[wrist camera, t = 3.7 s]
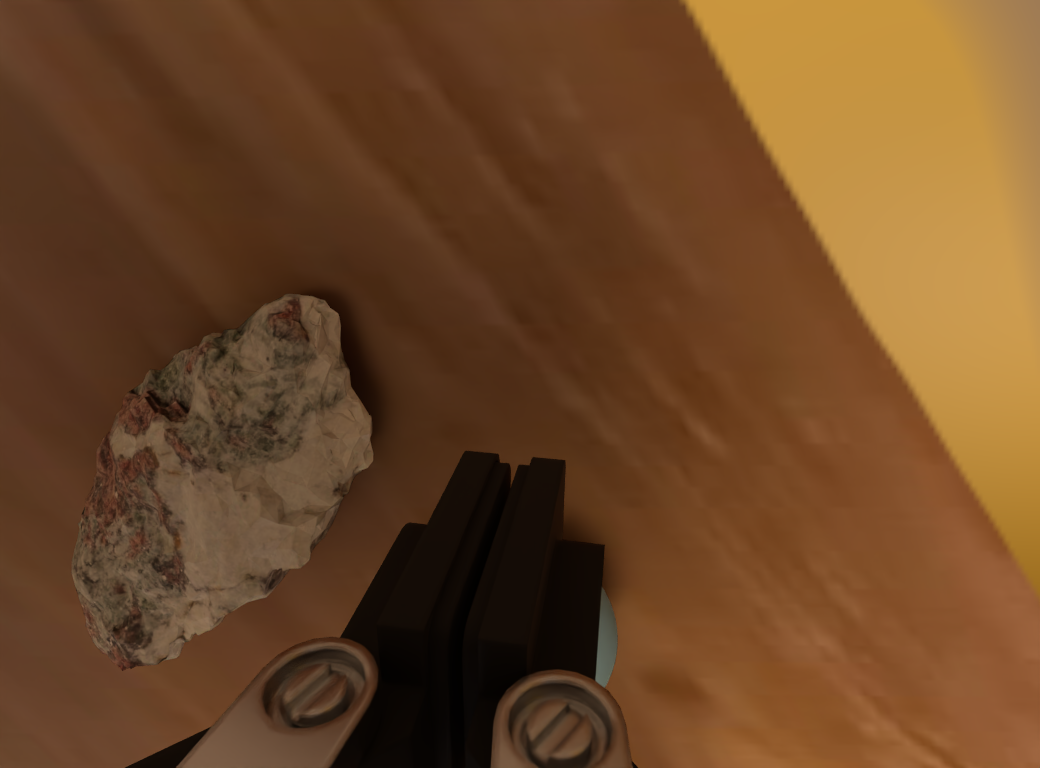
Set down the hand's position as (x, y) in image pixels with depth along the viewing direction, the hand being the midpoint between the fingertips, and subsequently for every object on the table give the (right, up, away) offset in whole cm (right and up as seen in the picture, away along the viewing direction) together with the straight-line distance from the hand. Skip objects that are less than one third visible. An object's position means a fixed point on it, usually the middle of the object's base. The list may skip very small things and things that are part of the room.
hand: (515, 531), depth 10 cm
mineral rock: (-10, 0, +13) cm, 16 cm away
